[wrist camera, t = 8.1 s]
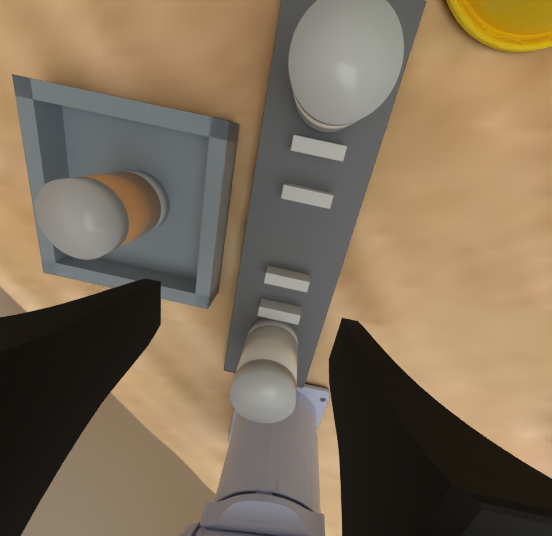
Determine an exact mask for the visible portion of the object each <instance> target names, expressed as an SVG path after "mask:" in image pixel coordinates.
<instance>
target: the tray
mask: <svg viewBox="0 0 552 536" xmlns="http://www.w3.org/2000/svg"><path fill="white" fill-rule="evenodd" d="M12 77H13V83H14V89H15V96H16V102H17V108H18V115H19V121H20V127H21V134H22V140H23V146H24V152H25V159H26V165H27V171H28V178H29V184H30V190H31V197H32V203H33V209H34V216H35V222H36V228H37V235H38V241H39V247H40V254H41V260H42V266H43V273H48V274H52V275H57V276H61V277H66V278H70V279H75V280H79V281H84V282H88V283H93V284H98V285H102V286H107V287H111V288H115V287H118V286H121V285H124V284H127V283H130V282H134V281H137V280H141V279H145V278H146V279H151V280H156V281H161V299H165V300H170V301H174V302H179V303H183V304H188V305H192V306H197V307H201V308H206V309H208V308H209V306H210V305H211V303H212V302H213V300H214V298H215V297H216V295H217V293H218V289H219V281H220V273H221V266H222V258H223V250H224V242H225V234H226V226H227V218H228V210H229V202H230V195H231V187H232V179H233V171H234V163H235V155H236V147H237V139H238V131H239V124H237V123H234V122H231V121H228V120H224V119H219V118H214V117H210V116H205V115H200V114H196V113H191V112H186V111H182V110H177V109H172V108H168V107H163V106H158V105H153V104H149V103H144V102H139V101H135V100H130V99H125V98H121V97H116V96H111V95H107V94H102V93H97V92H93V91H88V90H83V89H79V88H74V87H69V86H65V85H60V84H55V83H51V82H46V81H41V80H36V79H32V78H27V77H22V76H18V75H13V74H12ZM132 170H138V171H143V172H146V173H148V174H150V175H152V176H153V177H155V178H156V179H157V180H158V181H159V182H160V183H161V184H162V186H163V187H164V189H165V191H166V193H167V195H168V199H169V213H168V216H167V218H166V220H165V221H164V222H163V223H162V224H161V225H160V226H158V227H157V228H155V229H153V230H151V231H149V232H147V233H145V234H143V235H141V236H139V237H137V238H135V239H134V240H132V241H130V242H128V243H126V244H124V245H122V246H120V247H118V248H116V249H114V250H113V251H111V252H109V253H107V254H105V255H103V256H101V257H99V258H96V259H90V260H83V259H78V258H74V257H72V256H69V255H67V254H65V253H63V252H62V251H60V250H59V249H58V248H56V247H55V246H54V245H53V244H52V243H51V242H50V241H49V240H48V239H47V237H46V236H45V235H44V233H43V231H42V230H41V228H40V226H39V224H38V221H37V217H36V213H35V202H36V197H37V194H38V192H39V191H40V189H41V188H42V187H43V186H44V185H45V184H46V183H48V182H50V181H53V180H57V179H65V178H73V177H81V176H90V175H98V174H107V173H115V172H123V171H132Z"/></svg>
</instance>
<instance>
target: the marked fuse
mask: <svg viewBox="0 0 552 536" xmlns="http://www.w3.org/2000/svg"><path fill="white" fill-rule="evenodd" d="M35 213H36V217H37V221H38V224H39V226H40V228H41V230H42V231H43V233H44V235H45V236H46V237H47V239H48V240H49V241H50V242H51V243H52V244H53V245H54V246H55V247H56V248H58V249H59V250H60V251H62V252H63V253H65V254H67V255H69V256H72V257H74V258H78V259H83V260H90V259H96V258H99V257H101V256H103V255H105V254H107V253H109V252H111V251H113V250H114V249H116V248H118V247H120V246H122V245H124V244H126V243H128V242H130V241H132V240H134V239H135V238H137V237H139V236H141V235H143V234H145V233H147V232H149V231H151V230H153V229H155V228H157V227H158V226H160V225H161V224H162V223H163V222H164V221H165V220H166V218H167V216H168V213H169V199H168V195H167V193H166V191H165V189H164V187H163V186H162V184H161V183H160V182H159V181H158V180H157V179H156V178H155V177H153V176H152V175H150V174H148V173H146V172H143V171H138V170H132V171H123V172H115V173H107V174H98V175H90V176H81V177H73V178H65V179H57V180H53V181H50V182H48V183H46V184H45V185H44V186H43V187H42V188H41V189H40V191H39V192H38V194H37V197H36V202H35Z"/></svg>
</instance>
